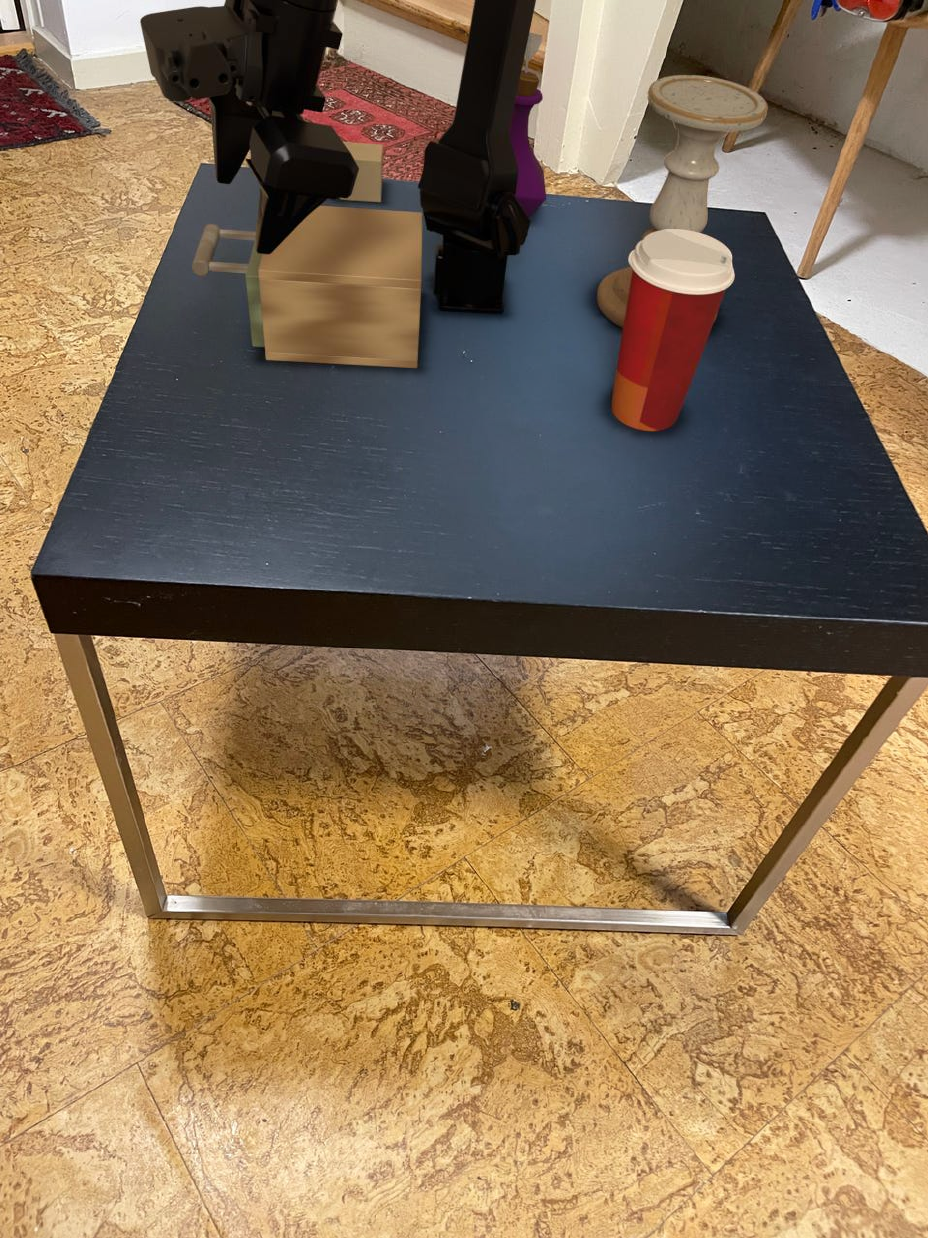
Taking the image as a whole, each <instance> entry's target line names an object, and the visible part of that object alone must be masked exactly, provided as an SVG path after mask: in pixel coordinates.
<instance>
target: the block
mask: <svg viewBox="0 0 928 1238" xmlns="http://www.w3.org/2000/svg"><path fill="white" fill-rule="evenodd" d="M343 143H344V144H345V146H346V147H347V149H348V150H349V151H350V153H351V155H352V156H353V158H354V160H355V162H356V164H357V165H358V167H359V171H358V175H357V178H356V181H355V184H354V188H353V191H352V194H351V196H349V197H348V198H339V199H340V201H355V202H356V201H357V202H367V203H369V202H370V203H381V202H382V190H383V159H384V157H383V156H384V155H383V154H384V151H383V149H384V145H383V144H382V143H379V144H378V143H369V142H367V143H366V142H354V141H343Z"/></svg>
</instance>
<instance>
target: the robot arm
mask: <svg viewBox="0 0 928 1238" xmlns="http://www.w3.org/2000/svg"><path fill="white" fill-rule="evenodd" d="M338 3H339V0H225V1H224V4H223V5H220V6H219V5H217V6H202V5H201V6H191V7H184V8H178V9H172V10H165V11H159V12H152V13H147V14H145V15H144V16H142V17H141V18H140V21H139V22H140V23H139V24H140V28H141V32H142V38H143V42H144V47H145V52H146V56H147V60H148V64H149V70H150V75H151V76H152V77H153V78H154V79H155V81H156V83H157V85H158V87H159V89H160V92H161V94H162V96H163V97H164V98H165V99H167V100H169V101H172V102H187V101H190V100H191V99H194V100H203V99H207V98H208V103H209V112H210V121H211V123H210V124H211V135H212V148H213V161H214V162H213V163H214V175H215V180H216V182H217V183H218V184H222V185H230V184H232V182H233V181H234V179H235V178H236V176H237V174H238V173H239V171H240V169H241V168H242V165H243V164H244V162H246V164H247V166H248V168H249V169H250V171H251V172H252V175H253V176H254V178H255V179H256V181H257V183H258V184H259V185H260V186H259V187H260V188H259V196H258V205H257V206H258V208H257V216H256V227H255V232H256V243H255V249H256V251H257V253H259V254H271V253H272V252H273V251H274V250H275V249H276V248H277V247H278V246H279V245H280V244H281V243H282V242H283V241H284V240H285V239H286V238H287V237H288V236H289V235H290V234H291V232H292V231H293V230H294V229H295V228H296V227H297V226H298V225H299V224H300V223H301V222H302V221H303V220H304V219H305V218H306V217H307V216H308V215H309V214H311V213H312V212H313V211H314V210H315V209H316V208H318V207H319V206H322V205H323V204H324V203H325V202H326V201H327V200H338V199H340V198H348V197H349V196H351V194H352V191H353V188H354V184H355V181H356V178H357V175H358V171H359V167H358V165H357V164H356V162H355V160H354V158H353V156H352V155H351V153H350V151H349V150H348V149H347V147H346V146H345V144H344V143H343V142H344V141H343V140H342V139H341V137H340V136H339V134H338V133H337V131H336V130H335V128H334V127H333V126H332V125H328V124H322V123H317V122H311V121H306V120H305V119H304V117H303V116H302V115H303V114H304V113H305V111H310V112H317V113H321V114H322V113H323V110H324V108H325V103H326V100H327V97H326V96H325V94H324V93H323V92H322V90H321V89H320V87H319V86H318V84H319V83H318V82H319V78H320V74H321V71H322V67H323V62H324V58H325V54H326V51H327V48H328V49H333V50H337V51H338V50H340V47H341V43H342V39H343V35H344V34H343V33H344V32H342V31H341V30H340V28H339V27H338V25H337V24H336V23H335V22H334V19H335V17H336V16H335V15H336V13H337V12H336V11H337V7H338ZM536 3H537V0H474V2H473V8H472V13H471V19H470V25H469V31H468V36H467V42H466V47H465V48H466V49H465V52H464V60H463V64H462V71H461V76H460V82H459V86H458V87H459V88H458V93H457V99H456V105H455V111H454V116H453V120H452V123H451V124H450V125H449V126H448V127H447V129H446V130H445V131H444V132H443V134H442V135H441V136H440V138H439V139H438V140H437V141H436V140H435V141H434V140H430V141H429V142H428V143H427V144H426V146H425V149H424V152H423V153H424V155H423V167H422V171H421V177H420V179H419V182H418V184H417V189H419V203H420V208H421V209H422V211H423V212H422V214H423V218H424V222H425V227H426V231H428V232H430V233H436V234H438V235H441V236H442V239H441V242H438V243H436V244H435V253H434V269H433V270H434V271H433V272H434V273H433V294H434V295H435V296H437V304H438V305H437V307H438V309H439V310H440V311H449V312H450V311H451V312H464V313H481V314H496V315H497V314H498V315H502V314H503V313H505V301H504V300H505V299H504V290H505V281H506V274H507V266H508V258H509V256H517V255H519V254H520V253H521V247H522V246H524V244H525V243H526V240H527V237H528V234H529V231H530V226H531V219H530V217H529V218H528V216H527V214H526V213H525V211H524V210H523V208H522V207H521V205H520V204H519V202H518V200H517V199H516V197H515V195H516V188H517V180H518V173H519V169H518V165H517V161H516V158H515V154H514V150H513V147H512V143H511V140H510V136H509V129H510V124H511V119H512V114H513V109H514V104H515V100H516V95H517V90H518V85H519V80H520V75H521V71H522V70H523V66H524V61H525V59H524V56H525V51H526V47H527V42H528V37H529V33H531V28H532V22H533V17H534V13H535V8H536ZM248 154H250V158H247V156H248Z"/></svg>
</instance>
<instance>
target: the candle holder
mask: <svg viewBox="0 0 928 1238" xmlns="http://www.w3.org/2000/svg"><path fill="white" fill-rule="evenodd" d="M647 102H648V105H649V106H650V108H651V110H653V111H654V112H655V113H656V114H658V115H660V116H661V117H663V118H665V119H666V120H669V121H671V122H672V124H673V128H674V129H675V130H676V132H677V142H676V146H675V148H674V149H673V150H672V151H670V152H669V153H667V154H666V155H665V157H664V159H663V165H664V167H665V169H666V170H667V174H666V177H665V179H664V182H663V185H662V186H661V189H660V191H659V193H658V195H657V197H656V198H655V200H654V201H653V203H652V205H651V207H650V210H649V213H648V214H649V215H648V216H649V222H650V224H651V226H652V227H650V229H648V230H647V231H645V232H644V233H643V235H642V236H641V238H640V239H641V240H640V241H642V240H643V239H644V238H645V237H646V236H647V235H648V234H650V233H653V232H656V231H660V230H664V229H682V230H689V231H694V232H698V233H702V232H703V231H704V230H705V229H706V226H707V224H708V220H709V219H708V218H709V217H708V215H709V213H708V211H709V210H708V193H709V185H710V184H709V183H710V179H712V178H714V177H715V176H716V175H718V173H719V171H720V165H719V162H718V161H717V159H716V157H715V152H716V151H715V150H716V147H717V145H718V144H719V142H720V140H722V139H724V138H725V137H727V136H728V134H729V133H731V132H741V131H747V130H750V129H754V128H757V127H758V126H760V125H761V124H762V123H763V122H764V121H765V119H766V117H767V115H768V110H769V105H768V103H767V101H766V99H764V97H762V95H761V94H759V93H758V92H757V91H754V90H753V89H751V88H749V87H748V86H747V87H746V86H745V85H742V84H739V83H737V82H734V81H730V80H726V79H722V78H718V77H713V76H705V75H698V74H697V75H694V74H677V75H669V76H664V77H661V78H658V79H656V80H655V81H653V82H652V83H651V84H650V85H649V88H648V91H647ZM632 271H633V268H632V267H631V265H630V266H627V267H624V268H620V269H618V270H615V271H613V272H611V273H609V274H607V275H606V276H604V278H603V279H602V280H601V282H600V283H599V284H598V288H597V290H596V291H597V292H596V302H597V306H598V308H599V310H600V312H601V313H602V314H603V315H604V316H605V317H606V318H607V319H608V320H609V321H611V322H612V323H613V324H615V325H617V326H618V327H620V328H622V329H623V326H624V320H625V314H626V308H627V302H628V295H629V289H630V283H631V277H632ZM718 313H719V311H718V312H717V315H716V317H715V320H714V322H715V321H716V320H717V316H718Z"/></svg>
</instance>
